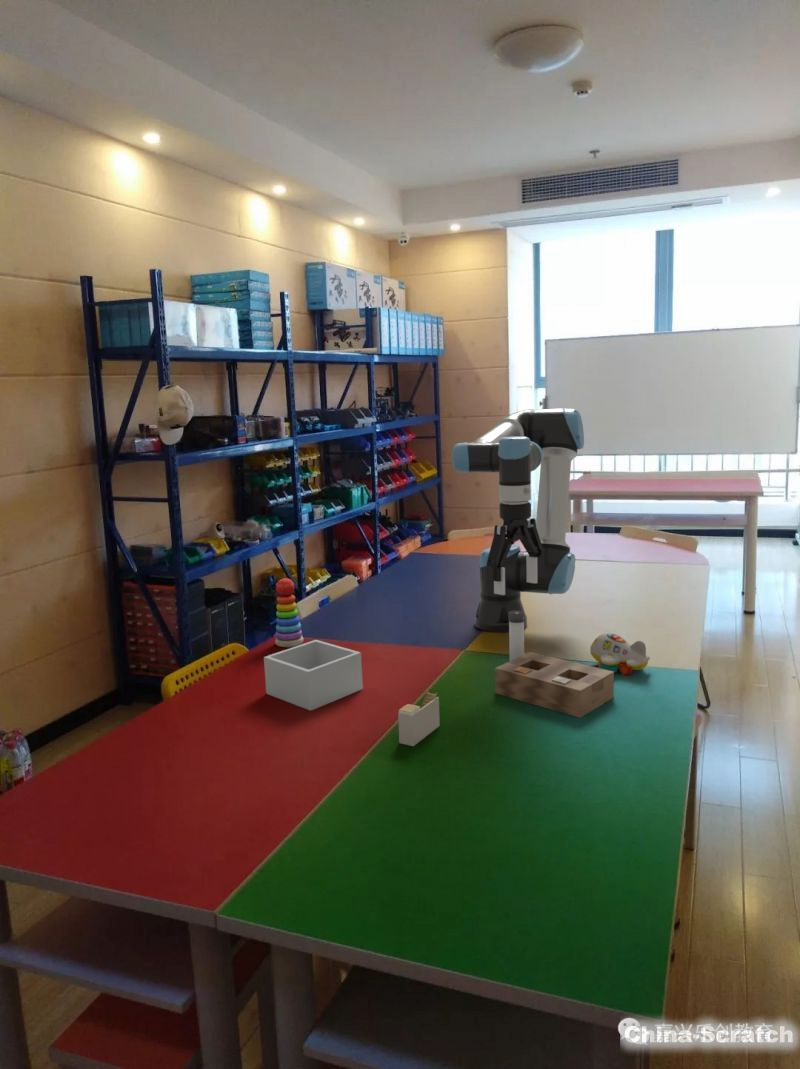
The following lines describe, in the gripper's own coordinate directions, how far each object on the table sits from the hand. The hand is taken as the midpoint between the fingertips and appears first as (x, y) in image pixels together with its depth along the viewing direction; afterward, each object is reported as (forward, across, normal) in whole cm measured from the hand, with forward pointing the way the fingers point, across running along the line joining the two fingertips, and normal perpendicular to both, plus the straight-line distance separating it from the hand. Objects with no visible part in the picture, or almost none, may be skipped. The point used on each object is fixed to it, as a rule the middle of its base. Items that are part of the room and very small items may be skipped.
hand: (516, 588), depth 192 cm
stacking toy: (+20, -23, +61) cm, 68 cm away
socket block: (+20, -10, -17) cm, 28 cm away
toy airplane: (+20, +14, -20) cm, 32 cm away
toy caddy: (+20, -42, +28) cm, 54 cm away
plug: (+20, 0, 0) cm, 20 cm away
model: (+21, -44, -7) cm, 49 cm away
